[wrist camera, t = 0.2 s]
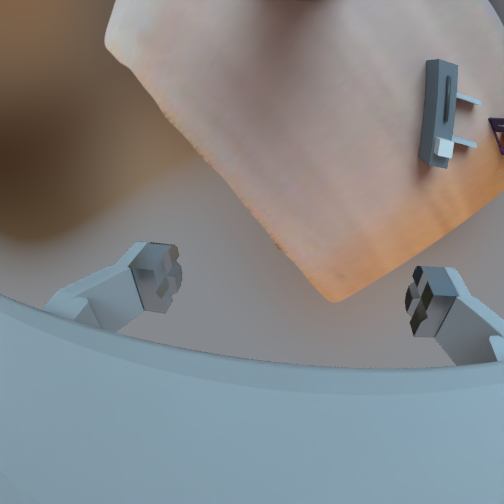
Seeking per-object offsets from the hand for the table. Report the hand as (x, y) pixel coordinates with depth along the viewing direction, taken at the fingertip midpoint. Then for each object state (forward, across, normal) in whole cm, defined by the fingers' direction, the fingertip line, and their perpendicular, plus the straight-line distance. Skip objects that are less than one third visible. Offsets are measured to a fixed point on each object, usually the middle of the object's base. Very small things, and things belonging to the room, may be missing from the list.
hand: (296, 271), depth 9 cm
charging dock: (+48, -29, -5) cm, 56 cm away
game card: (+48, -44, -5) cm, 65 cm away
